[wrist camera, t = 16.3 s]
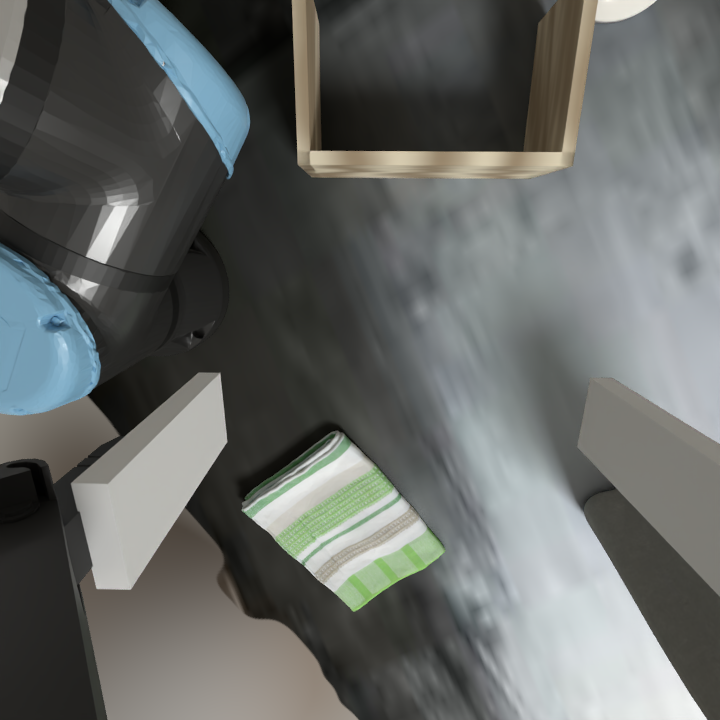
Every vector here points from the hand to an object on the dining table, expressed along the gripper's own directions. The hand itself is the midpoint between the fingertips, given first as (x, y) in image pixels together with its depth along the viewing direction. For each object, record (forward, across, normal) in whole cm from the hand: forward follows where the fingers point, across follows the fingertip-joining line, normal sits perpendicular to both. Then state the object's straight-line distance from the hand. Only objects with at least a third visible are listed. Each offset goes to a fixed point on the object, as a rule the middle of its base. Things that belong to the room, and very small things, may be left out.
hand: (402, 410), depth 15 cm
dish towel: (+32, -4, -31) cm, 45 cm away
